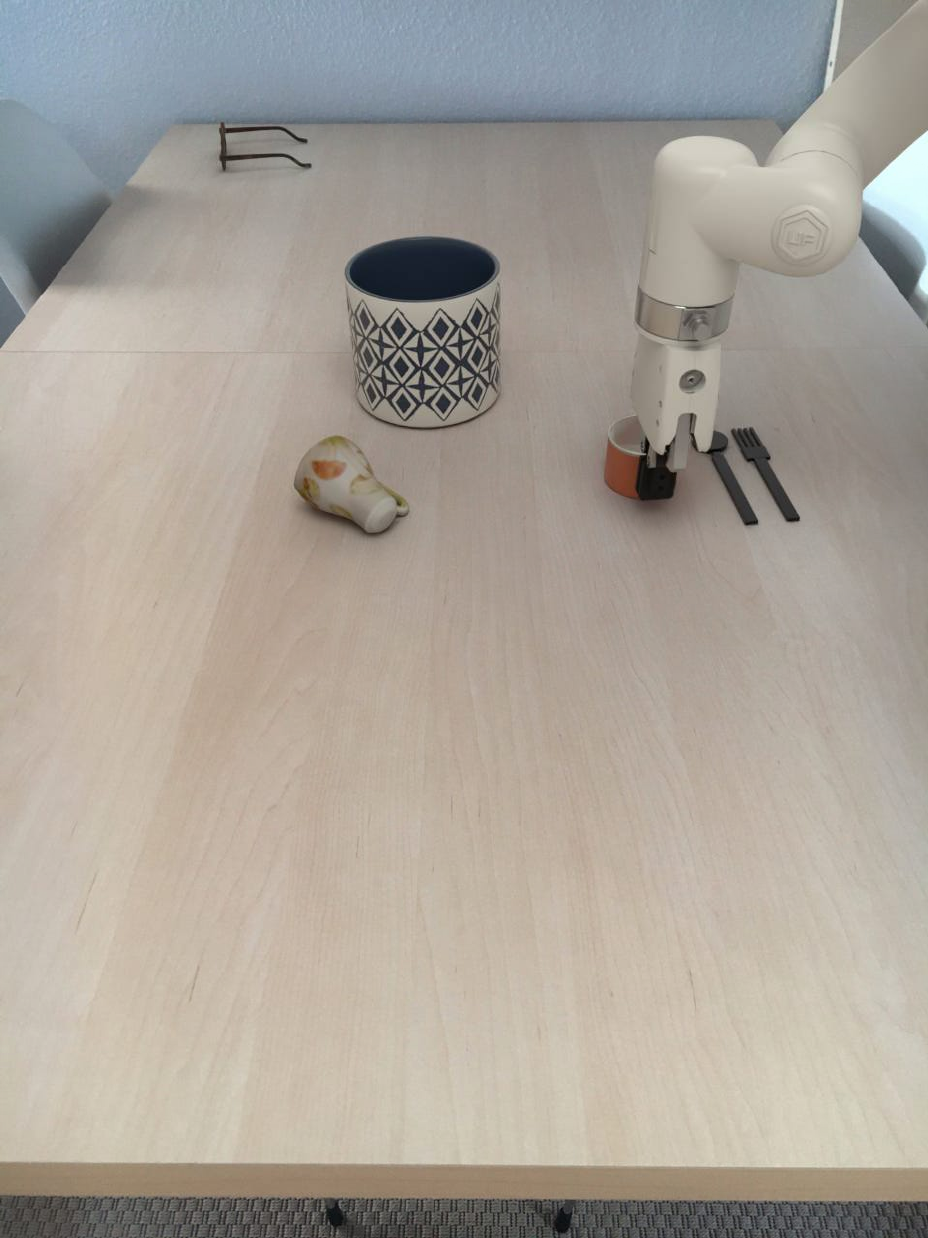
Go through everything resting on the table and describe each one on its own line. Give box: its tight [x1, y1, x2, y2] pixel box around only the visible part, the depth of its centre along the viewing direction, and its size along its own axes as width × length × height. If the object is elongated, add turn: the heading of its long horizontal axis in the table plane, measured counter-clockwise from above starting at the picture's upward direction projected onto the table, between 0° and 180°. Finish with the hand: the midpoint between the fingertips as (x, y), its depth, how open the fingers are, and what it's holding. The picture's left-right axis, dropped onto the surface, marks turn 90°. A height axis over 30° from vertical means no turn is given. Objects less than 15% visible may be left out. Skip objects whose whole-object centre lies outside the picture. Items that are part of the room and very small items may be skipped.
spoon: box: [691, 430, 759, 526], centre depth 97 cm, size 15×4×1 cm, turn 6°
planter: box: [343, 235, 502, 429], centre depth 105 cm, size 16×16×14 cm
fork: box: [730, 426, 801, 522], centre depth 97 cm, size 16×2×1 cm, turn 6°
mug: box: [293, 435, 410, 534], centre depth 92 cm, size 8×10×10 cm
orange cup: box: [603, 414, 678, 500], centre depth 96 cm, size 7×7×5 cm
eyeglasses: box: [218, 121, 312, 171], centre depth 166 cm, size 15×15×5 cm
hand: (653, 494), depth 92 cm, fingers closed
